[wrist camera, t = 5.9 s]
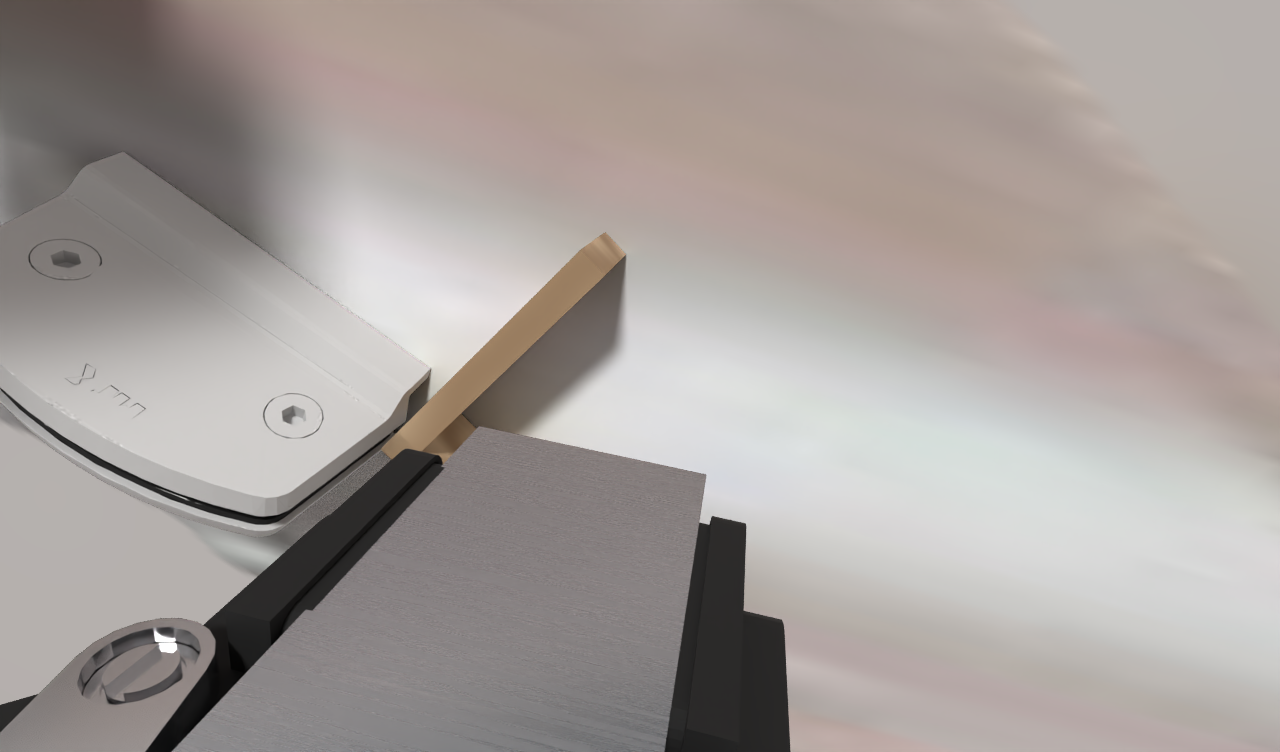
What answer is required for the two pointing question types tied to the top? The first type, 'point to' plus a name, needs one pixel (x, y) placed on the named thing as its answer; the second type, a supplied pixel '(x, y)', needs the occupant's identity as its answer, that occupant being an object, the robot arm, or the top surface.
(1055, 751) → the top surface
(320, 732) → the bracket
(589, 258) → the wooden corner frame
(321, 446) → the hinge
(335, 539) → the robot arm
